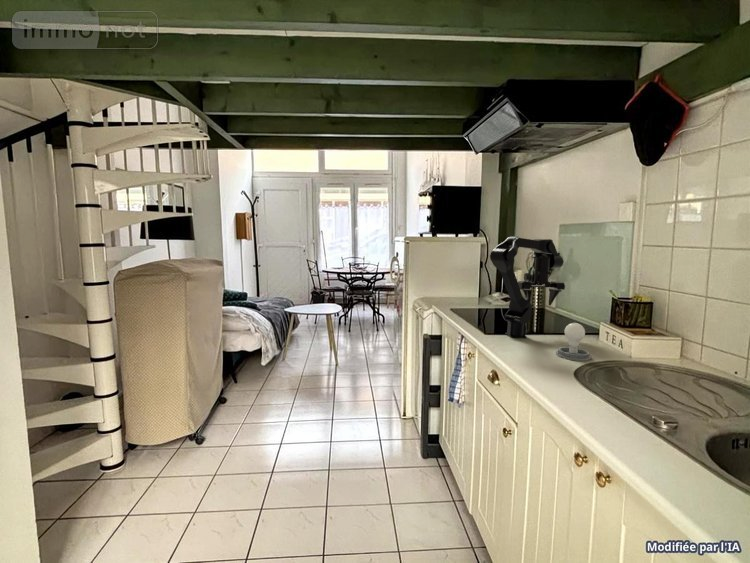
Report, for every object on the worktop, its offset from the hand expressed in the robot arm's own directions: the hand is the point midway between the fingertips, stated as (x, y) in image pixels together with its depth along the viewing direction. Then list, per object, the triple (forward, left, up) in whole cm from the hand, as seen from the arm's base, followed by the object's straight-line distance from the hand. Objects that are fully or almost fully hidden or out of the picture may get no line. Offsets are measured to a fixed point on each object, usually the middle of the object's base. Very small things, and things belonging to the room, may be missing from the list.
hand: (539, 305), depth 170 cm
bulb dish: (-4, -33, -12) cm, 35 cm away
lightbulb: (-3, -33, -12) cm, 35 cm away
